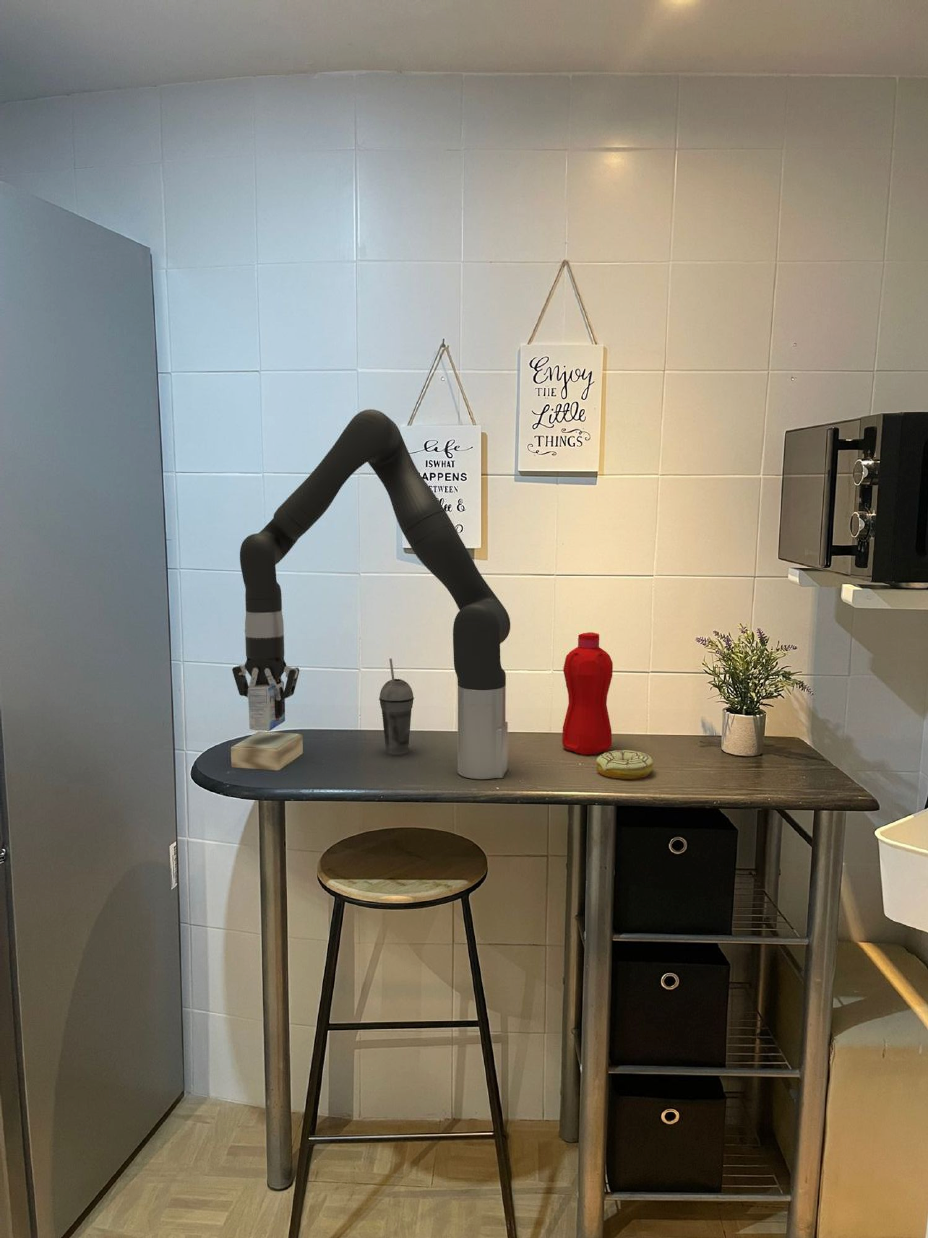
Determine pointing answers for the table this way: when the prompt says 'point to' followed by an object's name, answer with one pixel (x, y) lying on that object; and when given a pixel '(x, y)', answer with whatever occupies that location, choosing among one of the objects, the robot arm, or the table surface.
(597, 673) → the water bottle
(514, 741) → the table surface
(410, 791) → the table surface
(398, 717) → the beverage cup
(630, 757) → the decorated donut
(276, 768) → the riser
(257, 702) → the medicine box
